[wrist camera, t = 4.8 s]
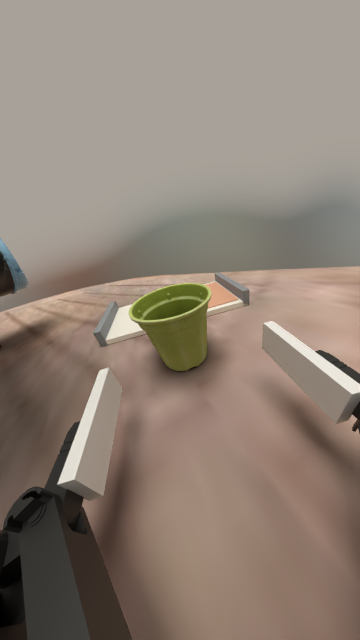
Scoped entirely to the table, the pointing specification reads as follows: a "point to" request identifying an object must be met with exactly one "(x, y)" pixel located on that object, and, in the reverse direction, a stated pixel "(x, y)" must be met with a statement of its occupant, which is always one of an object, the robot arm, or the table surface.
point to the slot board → (122, 327)
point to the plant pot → (175, 323)
